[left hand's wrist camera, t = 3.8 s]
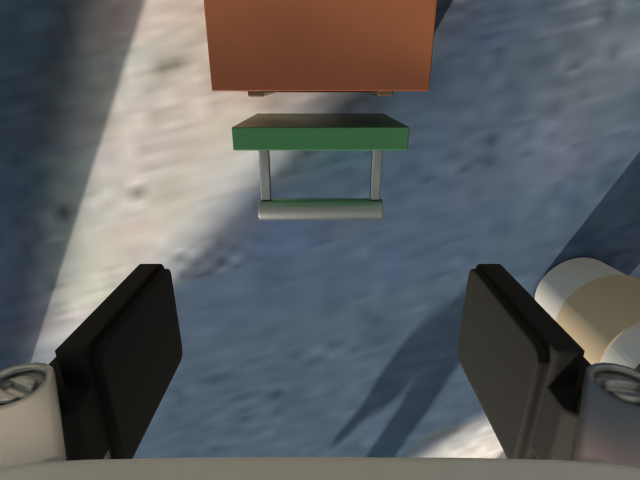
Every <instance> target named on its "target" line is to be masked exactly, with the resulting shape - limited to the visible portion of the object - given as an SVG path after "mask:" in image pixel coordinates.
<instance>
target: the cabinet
mask: <svg viewBox="0 0 640 480" xmlns="http://www.w3.org/2000/svg"><path fill="white" fill-rule="evenodd" d="M204 8H205V18H206V29H207V40H208V51H209V61H210V72H211V83H212V91H429V84H430V73H431V62H432V51H433V41H434V30H435V19H436V8H437V0H204Z"/></svg>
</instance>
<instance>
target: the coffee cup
mask: <svg viewBox="0 0 640 480" xmlns="http://www.w3.org/2000/svg"><path fill="white" fill-rule="evenodd" d="M535 300H536V301H537V302H538V303H539V304H540V305H541V306H542V307H543V309H544V310H545V311H546V312H547V313H548V314H549V315H550V316H551V317H552V318H553V319H554V320H555V321H556V322H557V323H558V324H559V325H560V326H561V327H562V328H563V329H564V330H565V331H566V332H567V333H568V334H569V335H570V336H571V337H572V338H573V339H574V340H575V341H576V342H577V343H578V344H579V345H580V346H581V347H582V348H583V349H584V350H585V353H584V357H585V358H586V360H587V361H588V362H589V363H590V364H591V365H592V364H595V363H602V362H604V363H615V364H619V365H624V366H627V367H630V368H633V369H635V370H638V371H640V279H638V278H636V277H633V276H628V275H626V274H624V273H622V272H620V271H618V270H616V269H614V268H612V267H610V266H609V265H607V264H605V263H603V262H601V261H599V260H596V259H593V258H575V259H571V260H567V261H565V262H563V263H561V264H559V265H557V266H555V267H554V268H553V269H551V270H550V271H549V272H548V273H547V274H546V275H545V276H544V277H543V278H542V280H541V281H540V283H539V285H538V287H537V289H536V293H535Z"/></svg>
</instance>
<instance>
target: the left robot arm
mask: <svg viewBox="0 0 640 480" xmlns="http://www.w3.org/2000/svg"><path fill="white" fill-rule="evenodd" d="M55 353H56V357H55V358H54V360H53V361H52V362H51V363H50V364H49V365H48V364H45V363H38V362H36V363H25V364H21V365H16V366H13V367H10V368H7V369H5V370H2V371H0V480H640V371H638V370H635V369H633V368H630V367H627V366H624V365H619V364H615V363H604V362H602V363H595V364H592V365H591V364H590V363H589V362H588V361H587V360H586V358H585V357H584V353H585V350H584V349H583V348H582V347H581V346H580V345H579V344H578V343H577V342H576V341H575V340H574V339H573V338H572V337H571V336H570V335H569V334H568V333H567V332H566V331H565V330H564V329H563V328H562V327H561V326H560V325H559V324H558V323H557V322H556V321H555V320H554V319H553V318H552V317H551V316H550V315H549V314H548V313H547V312H546V311H545V310H544V309H543V307H542V306H541V305H540V304H539V303H538V302H537V301H536V300H535V299H534V298H533V297H532V296H531V295H530V294H529V293H528V292H527V291H526V290H525V289H524V288H523V287H522V286H521V285H520V284H519V283H518V282H517V281H516V280H515V279H514V278H513V277H512V276H511V275H510V274H509V273H508V272H507V271H506V270H505V269H504V268H503V267H502V266H501V265H500V264H478V265H477V266H476V269H471V270H470V272H469V277H468V284H467V290H466V297H465V303H464V310H463V317H462V323H461V330H460V337H459V343H458V358H459V361H460V363H461V365H462V367H463V369H464V371H465V373H466V376H467V378H468V380H469V382H470V384H471V386H472V388H473V390H474V392H475V394H476V396H477V398H478V400H479V402H480V404H481V406H482V408H483V410H484V412H485V414H486V416H487V418H488V420H489V422H490V424H491V426H492V428H493V430H494V432H495V434H496V436H497V438H498V440H499V442H500V444H501V446H502V448H503V450H504V452H505V454H506V456H507V458H508V459H487V458H379V457H261V458H153V459H132V458H133V456H134V454H135V452H136V450H137V448H138V446H139V444H140V442H141V440H142V438H143V436H144V434H145V432H146V430H147V428H148V426H149V424H150V422H151V420H152V418H153V416H154V414H155V412H156V410H157V408H158V406H159V404H160V402H161V400H162V398H163V396H164V394H165V392H166V390H167V388H168V386H169V384H170V382H171V380H172V378H173V375H174V373H175V371H176V369H177V367H178V365H179V363H180V361H181V358H182V343H181V337H180V330H179V324H178V317H177V310H176V304H175V297H174V290H173V284H172V277H171V272H170V270H169V269H164V266H163V265H162V264H140V265H139V266H138V267H137V268H136V269H135V270H134V271H133V272H132V273H131V274H130V275H129V276H128V277H127V278H126V279H125V280H124V281H123V282H122V283H121V284H120V285H119V286H118V287H117V288H116V289H115V290H114V291H113V292H112V293H111V294H110V295H109V296H108V297H107V298H106V299H105V300H104V301H103V302H102V303H101V304H100V305H99V306H98V307H97V309H96V310H95V311H94V312H93V313H92V314H91V315H90V316H89V317H88V318H87V319H86V320H85V321H84V322H83V323H82V324H81V325H80V326H79V327H78V328H77V329H76V330H75V331H74V332H73V333H72V334H71V335H70V336H69V337H68V338H67V339H66V340H65V341H64V342H63V343H62V344H61V345H60V346H59V347H58V348H57V349H56V350H55Z"/></svg>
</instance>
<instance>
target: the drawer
mask: <svg viewBox="0 0 640 480" xmlns="http://www.w3.org/2000/svg"><path fill="white" fill-rule="evenodd" d="M276 92H366V93H369V94H373V95H376V96H393V91H248V96H266V95H269V94H272V93H276ZM232 136H233V149H234V150H259V164H260V181H261V199H259V202H258V215H259V219H260V220H381V219H382V216H383V202H382V199H381V198H380V181H381V163H382V150H407V149H408V138H409V127H407V126H406V125H404V124H402V123H400V122H398V121H396V120H394V119H393V118H391V117H389V116H387V115H385V114H256V115H254V116H252V117H250V118H249V119H247V120H245V121H243V122H241V123H239V124H238V125H236V126H234V127H232ZM269 150H372V157H371V179H370V198H355V199H271V178H270V157H269Z"/></svg>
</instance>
